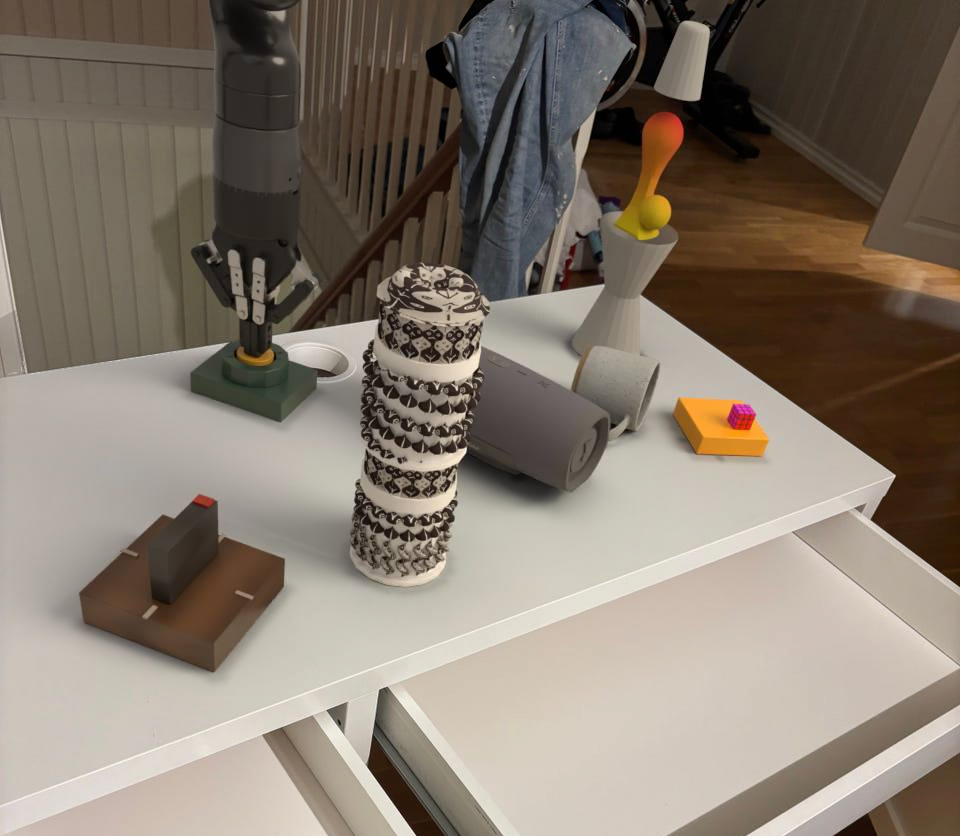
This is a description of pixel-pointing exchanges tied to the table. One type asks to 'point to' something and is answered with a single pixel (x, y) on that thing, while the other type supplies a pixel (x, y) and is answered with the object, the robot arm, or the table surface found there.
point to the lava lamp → (644, 207)
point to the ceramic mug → (617, 385)
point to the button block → (254, 382)
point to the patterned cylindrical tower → (416, 421)
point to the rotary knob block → (185, 600)
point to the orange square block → (720, 426)
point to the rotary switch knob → (183, 548)
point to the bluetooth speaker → (535, 425)
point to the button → (255, 358)
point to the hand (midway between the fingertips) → (256, 352)
